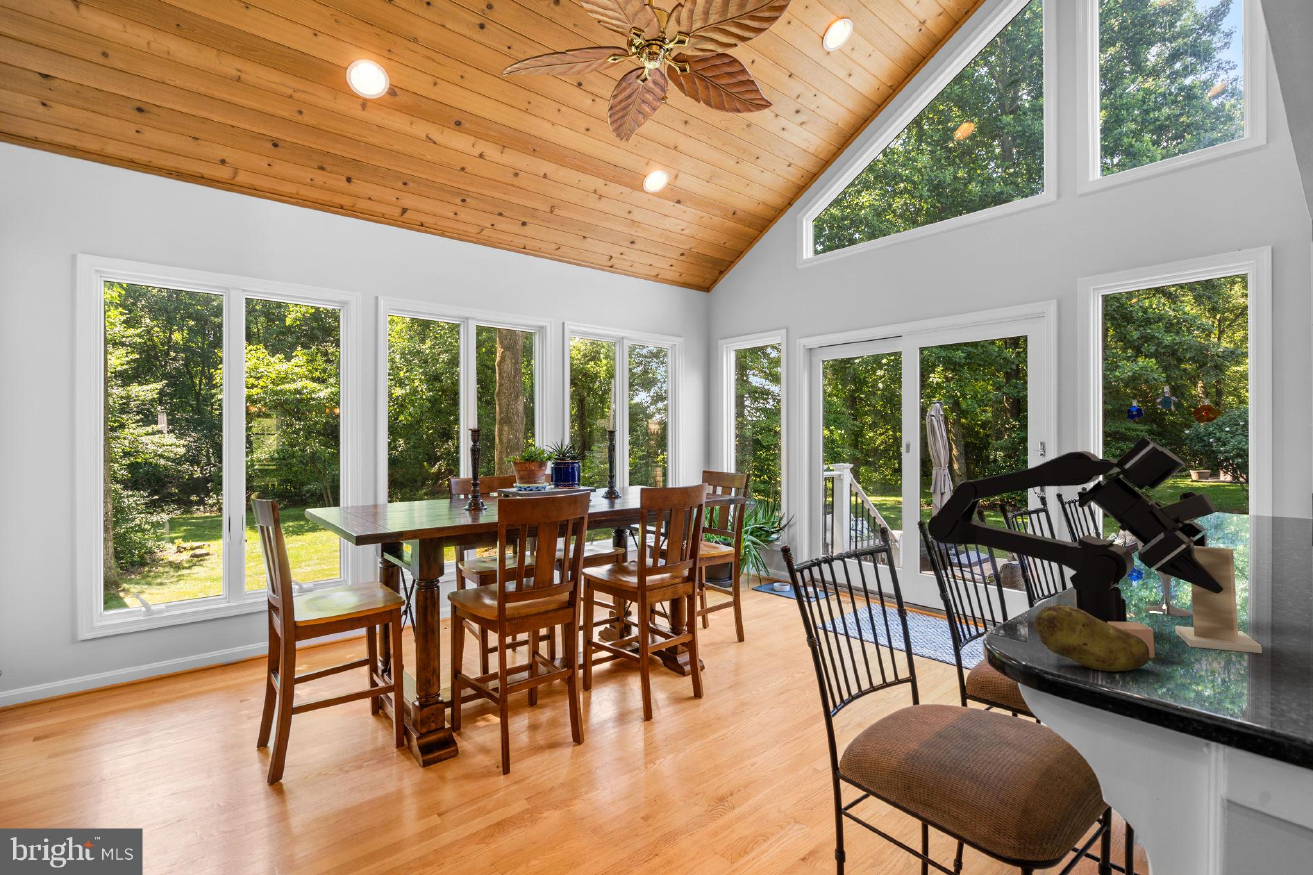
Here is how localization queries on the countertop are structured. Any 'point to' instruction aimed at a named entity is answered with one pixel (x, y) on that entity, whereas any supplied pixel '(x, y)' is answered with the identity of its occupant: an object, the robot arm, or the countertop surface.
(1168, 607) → the wine glass
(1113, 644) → the potato
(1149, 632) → the terracotta cube
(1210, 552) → the beech block
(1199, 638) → the stone tile
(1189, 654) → the countertop surface
